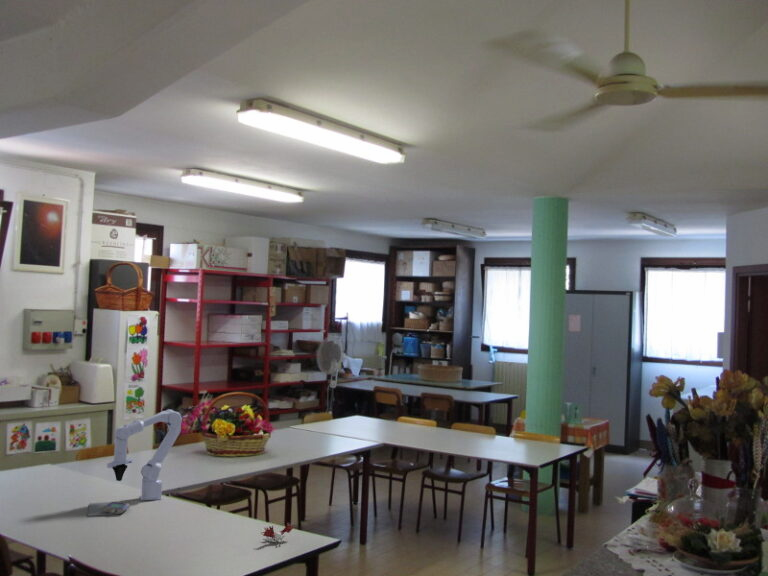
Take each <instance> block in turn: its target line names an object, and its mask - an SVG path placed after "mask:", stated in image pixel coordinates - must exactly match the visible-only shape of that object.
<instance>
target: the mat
mask: <svg viewBox="0 0 768 576" xmlns="http://www.w3.org/2000/svg"><path fill="white" fill-rule="evenodd" d="M111 502H112V501H110V502H109V501H106V502H105V501H104V502H93V503H92V502H91V503H90V502H89V505H88V516H87V517H88V518H90V517H101V516H103V517H106V516H117V515H118V514H114V513H112V514H111V513H109V512H105V511H104V507H105V506H107V505H108V504H110V503H111Z"/></svg>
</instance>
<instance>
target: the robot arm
mask: <svg viewBox="0 0 768 576" xmlns="http://www.w3.org/2000/svg"><path fill="white" fill-rule="evenodd" d="M182 421H183V418H182V415H181V413H180V412H178V411H174V409H170V408H168V409H166V410H163V411H161V412H158V413H156V414H154V415H152V416H149V417H147V418H145V419H143V420H140V419H138V420H137V419H134V420H133V421H132V422H129V423H127V424H126V423H124V424H123V426H122V425H120V426H118V427H116V428H115V430H114V431H113V436H114V437H115V440H114V452H113V453H114V454H113V461H111V462H108V463H107V465H106V468H108V469H112V470H113V473H114V475H115V480H116V481H117V482H121V481H123V478H124V477H123V476H124V474H125V472H126V470H127V469H128V464H132V463H133V458H127V457H128V456H127V455H128V439H129V438H130V437H131V436H133V435H135V434H138V433H140V432H143V431H144V429H145V428H146V427H149V426H151V425H155V424H157V423H161V422H162V423H166V425H167V429H168V432H167V433H166V434H165V436H164V438H163V440H162V441H161V442H160V445H159V446H158V448H157V450H156V452H155V453H154V454H153V456H152V458H150V460H148V461H147V463H146V464H145V465H143V466H142V468H141V470H140V474H141V476H142V480H141V495H140V501H153V500H155V501H156V500H157V501H158V500H162V495H163V491H162V487H163V486H162V479H159V477H160V472H161V470H162V465H163V464H162V463H163V462H164V461H165V459H166V457H167V456H168V453H169V452H170V451H171V449H172V447H173V445H174V444H175V442H176V441H177V439H178V436H179V435H180V433H181V431H182Z"/></svg>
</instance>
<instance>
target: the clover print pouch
mask: <svg viewBox="0 0 768 576" xmlns="http://www.w3.org/2000/svg"><path fill="white" fill-rule="evenodd" d="M110 502H111V503H110V504H108V505H107V506H105V507H104V511H105V512H109V513H111V514H112V513H114V514H117V515H118V514H124V512H125V511H127V510H128V509H130V507H131V504H130V503H128V502H118V501H110Z"/></svg>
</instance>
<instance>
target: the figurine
mask: <svg viewBox="0 0 768 576" xmlns="http://www.w3.org/2000/svg"><path fill="white" fill-rule="evenodd" d="M286 523H287V524H286V525H285V527H284V528H283V529H282V530H279V531H276V532H275V529H274V525H272V526H268V527H263V528H264V531H261V532H260V534H261V535H263V537H266V541H268V542H272V541H275V543H277V542H279V541H281V542H283V541H284V540H283V539H284V538H285V537H286V536H285V534H284V533H288V534H289V533H290V532H291V531H292V530H294V528H293V524H291V523H290V522H286Z"/></svg>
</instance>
